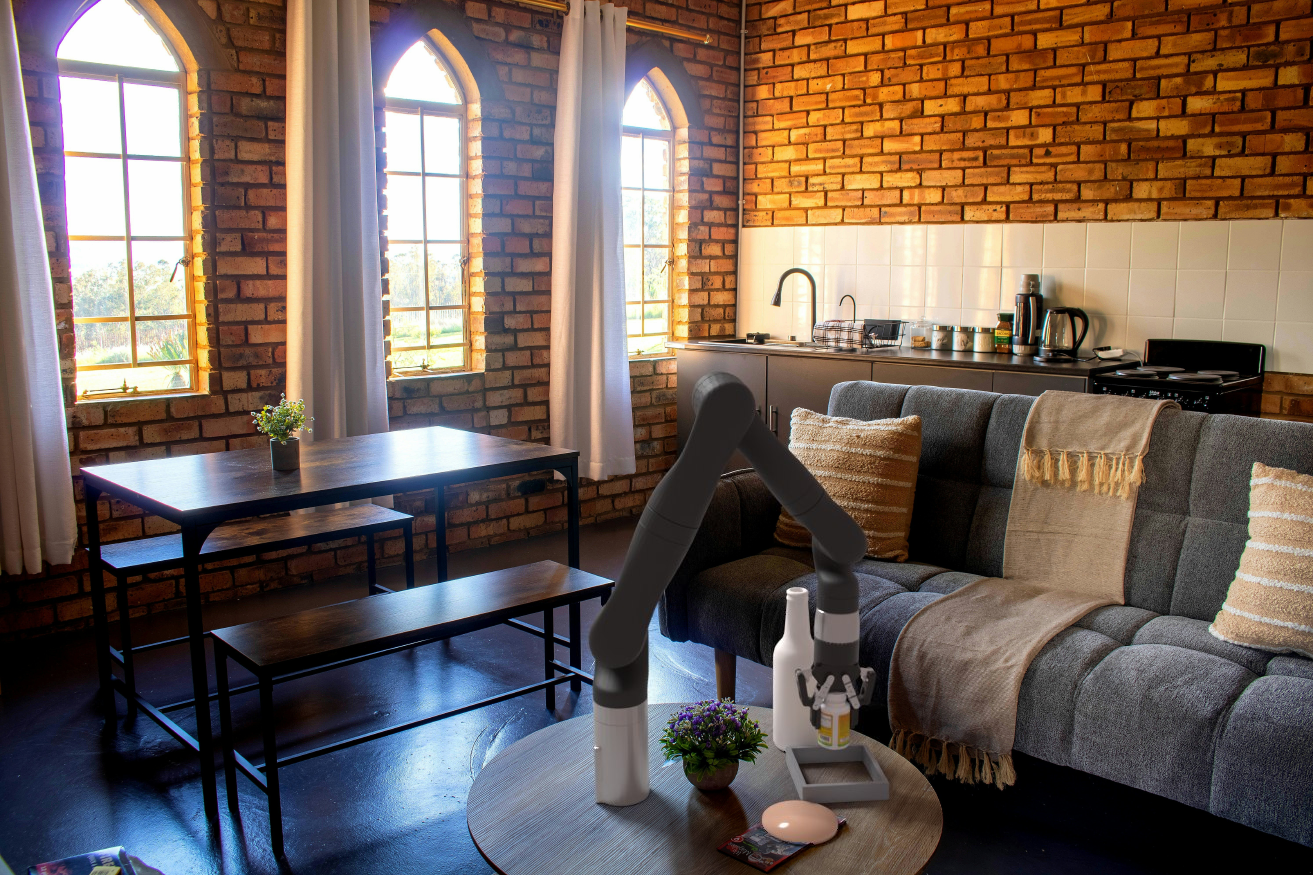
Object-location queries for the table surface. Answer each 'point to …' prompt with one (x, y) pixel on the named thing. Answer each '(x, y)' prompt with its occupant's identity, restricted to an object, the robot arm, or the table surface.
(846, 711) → the supplement bottle
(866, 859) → the table surface
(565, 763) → the table surface
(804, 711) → the alcohol
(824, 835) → the plate
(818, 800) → the bin
